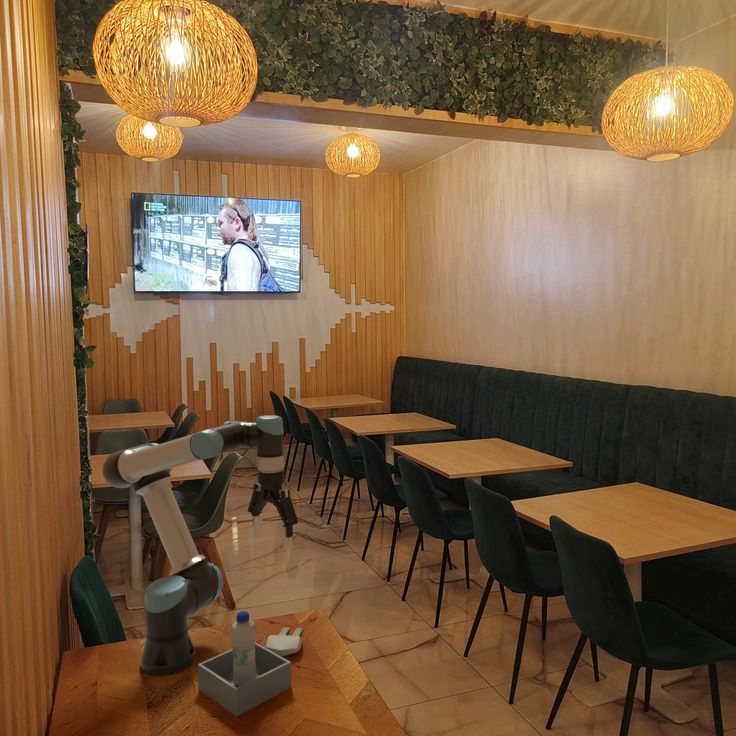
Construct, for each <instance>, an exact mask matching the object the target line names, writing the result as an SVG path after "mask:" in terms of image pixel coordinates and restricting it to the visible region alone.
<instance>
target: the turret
mask: <svg viewBox="0 0 736 736" xmlns="http://www.w3.org/2000/svg"><path fill="white" fill-rule="evenodd" d="M290 628H291V627H286V626H285V627H283V628H282V629H281V631H280V632H279V634H278V635H277V634H270V635H269V636H268V637H267V639H266V644H265V648H267V649H268V650H270V651H272V652H274V653H276V654H277V655H279V656H281V657H287V656H289V655H292V654H294V653H297V652H299V651H301V649H302V644H303V638H302V637H301V635H302V633H303V631H304V628H302V627H297V628H296V629H295V630H294V633H292V635H288V633H289V632H290V630H291V629H290Z"/></svg>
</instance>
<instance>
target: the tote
mask: <svg viewBox="0 0 736 736" xmlns="http://www.w3.org/2000/svg"><path fill="white" fill-rule="evenodd" d="M255 663H256V673H257V675H256V678H254V679H252V680H250V681H248V682H246V683H244V684H242V685H240V686H238V687H235V685H234V682H233V648H231V649H229V650H227V651H225V652H223V653H220V654H218V655H216V656H213V657H211V658H209V659H207V660H205V661H203V662H201V663H200V662H199V663H198V664H197V678H198V679H197V680H198V683H197V685H198V688H197V689H198V691H200V693H202V694H204V695H205V696H206V697H208V698H210V700H213V702H215V703H217V704H218V705H219V704H220V705H219V706H221V707H222V708H224V709H225V710H226V709H227V710H226V711H228V712H230V713H231V714H232V715H234V716H235V717H239V716H241V715H243V714H244V713H246V712H248V711H250V710H251V709H253V708H256V707H257V706H259V705H261V704H263V703H264V702H265V703H266V701H268V700H270V699H272V698H274V697H276V696H278V695H280V694H282V693H284V692H286V691H287V690H289V689H290V688H292V662H291V661H290V660H288V659H286V658H284V656H279V655H277V654H276V653H274V652H272V651H270V650H268V649H267V648H266V646H263V645H261V644H259V643H257V642H256V641H255Z"/></svg>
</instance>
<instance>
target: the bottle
mask: <svg viewBox="0 0 736 736" xmlns="http://www.w3.org/2000/svg"><path fill="white" fill-rule="evenodd" d="M235 618H236V621H234V622H233V623H232V624H231V632H230V643H231V645H232V649H233V682H234V685H235V687H238V686H240V685H242V684H244V683H246V682H248V681H250V680H252V679H254V678H256V675H257V673H256V663H255V642H256V641H257V632H256V631H257V630H256V626H255V622H254V621H253V620H251V619H250V613H249V612H248V611H245V610H244V611H240V612H238V613H237V614H236V616H235Z"/></svg>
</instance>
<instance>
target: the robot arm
mask: <svg viewBox="0 0 736 736" xmlns="http://www.w3.org/2000/svg"><path fill="white" fill-rule="evenodd" d="M284 432H285V431H284V421H283V418H282V417H281V416H279V415H260V416H258V417H256V422H252V421H251V422H250V421H239V420H233V421H232V420H231V421H230V420H228V421H225V422H223V423H222V425H220V426H217V427H212V428H207V429H206V428H205V429H203V430H200V431H198V432H196V433H192V434H188V435H186V436H183V437H180V438H175V439H172V440H170V441H165V442H163V443H160V444H159V443H157V442H151V443H142V444H139V445H136V446H133V447H127V448H123V449H120V450H117V451H114V452H112V453H110V454H109V455H108V456H107V457H106V458H105V460H104V462H103V464H102V470H101V471H102V476H103V478H104V481H105V482H106V483H107V484H108V485H110V486H111V487H113V488H116V489H125V488H131V487H132V488H133V490H134V491H135V492H134V493H135V494H137V495H140V496H142V498H143V501H144V503H145V505H146V507H147V510H148V513H149V514H150V517H151V519H152V522H153V524H154V526H155V527H154V528H155V529H156V532H157V534H158V536H159V539H160V541H161V543H162V546H163V548H164V551H165V553H166V556H167V557H168V558H167V559H168V560H169V562H170V565H171V571H170V573H169V575H167V576H166V577H160V578H158V579H156V580H154V581H152V582H151V583H150V584H149V585H148V586H147V588H146V589H145V593H144V602H143V603H144V615H145V617H144V618H145V632H146V635H145V636H146V637H145V638H146V640H145V642H144V646H143V648H142V653H141V656H140V668H141V670H142V672H144V673H146V674H149V675H153V676H166V675H172V674H176V673H179V672H181V671H184V670H185V669H188V668H189V667H190V666H191V665H192V664H193V663H194V662H195V661H196V649H195V645H194V643H193V641H192V638H191V635H190V633H189V619H188V618H189V617H191V616H192V615H194V614H195V613H197V612H198V611H200V610H201V609H203V608H205V607H206V606H208V605H210V604H212V603H213V602H214V601H215V600H217V599H218V598H219V596H221V593H222V590H223V587H224V579H223V575H222V572H221V570H220V569H219V567H218V566H217V565H215V564H214V563H212V562H208V559H207V557H206V556H204V555H201V554H200V553H199V551H198V550H197V549H198V548H197V546H196V544H195V542H194V539H193V537H192V535H191V533H190V530H189V528H188V526H187V525H188V524H187V523H186V520H185V518H184V516H183V514H182V512H181V508H180V507H179V504H178V501H177V500H176V497H175V495H174V492H173V490H172V487H171V486H170V483H171V481H172V478H173V477H172V475H171V472H172V470H173V469H175V468H177V467H181V466H184V465H188V464H191V463H194V462H198V461H202V460H205V459H206V460H207V459H211V458H215V457H217V456H219V455H220V456H221V455H223V454H225V453H229V452H232V451H236V450H240V449H255V450H256V453H257V455H256V456H257V457H256V460H257V461H256V463H257V464H256V466H257V467H256V468H257V470H258V472H257V483H253V491H252V494H251V497H250V501H249V504H248V507H247V512H248V513H251V516H252V526H253V538H254V539H259V538H260V539H261V538H263V537H264V525H263V524H264V523H263V522H264V520H263V519H264V518H263V515H262V514H263V509H264V508H265V506H266V505H267V503H270V504H272V505H273V506H274V507H275V508H276V509H277V512H278V515H279V516H280V519H281V521H282V522H283V525H282V549H283V550H287V549H288V550H289V549H291V548H292V547H293V536H294V525H298V523H299V520H298V517H297V513H296V512H295V511H296V510H295V508H294V504H293V502H292V498H291V490H290V489H285V490H284V489H283V484H284V483H285V470H284V468H285V464H284V462H285V461H284V460H285V459H284V455H285V454H284Z"/></svg>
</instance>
